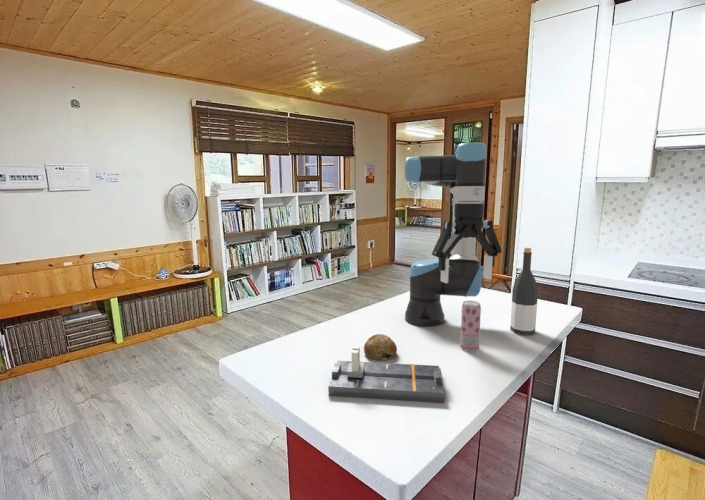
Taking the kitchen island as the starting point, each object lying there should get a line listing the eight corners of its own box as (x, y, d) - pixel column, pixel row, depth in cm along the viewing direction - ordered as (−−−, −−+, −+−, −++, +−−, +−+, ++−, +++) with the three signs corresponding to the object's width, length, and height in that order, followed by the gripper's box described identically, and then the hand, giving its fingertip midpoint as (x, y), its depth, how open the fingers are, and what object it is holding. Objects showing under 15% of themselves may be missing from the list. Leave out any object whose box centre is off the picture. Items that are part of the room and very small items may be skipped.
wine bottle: (523, 337, 127) (529, 250, 123) (505, 329, 135) (509, 247, 130) (540, 333, 130) (546, 248, 126) (521, 325, 138) (526, 245, 133)
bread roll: (370, 372, 111) (376, 354, 107) (356, 347, 119) (361, 329, 114) (398, 365, 116) (405, 347, 111) (382, 341, 123) (388, 323, 119)
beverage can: (459, 350, 117) (461, 304, 115) (461, 343, 122) (462, 299, 120) (478, 353, 115) (480, 306, 113) (479, 346, 120) (481, 301, 118)
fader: (347, 376, 96) (346, 352, 95) (349, 367, 100) (349, 344, 99) (362, 377, 95) (362, 353, 94) (364, 368, 100) (364, 345, 99)
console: (328, 395, 92) (328, 380, 92) (338, 368, 106) (337, 355, 105) (444, 402, 88) (444, 387, 88) (438, 374, 102) (438, 360, 102)
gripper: (434, 203, 92) (432, 287, 96) (518, 202, 99) (513, 279, 102) (420, 203, 99) (419, 280, 103) (499, 201, 106) (495, 274, 110)
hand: (466, 280), depth 103 cm, fingers open, 13 cm apart
